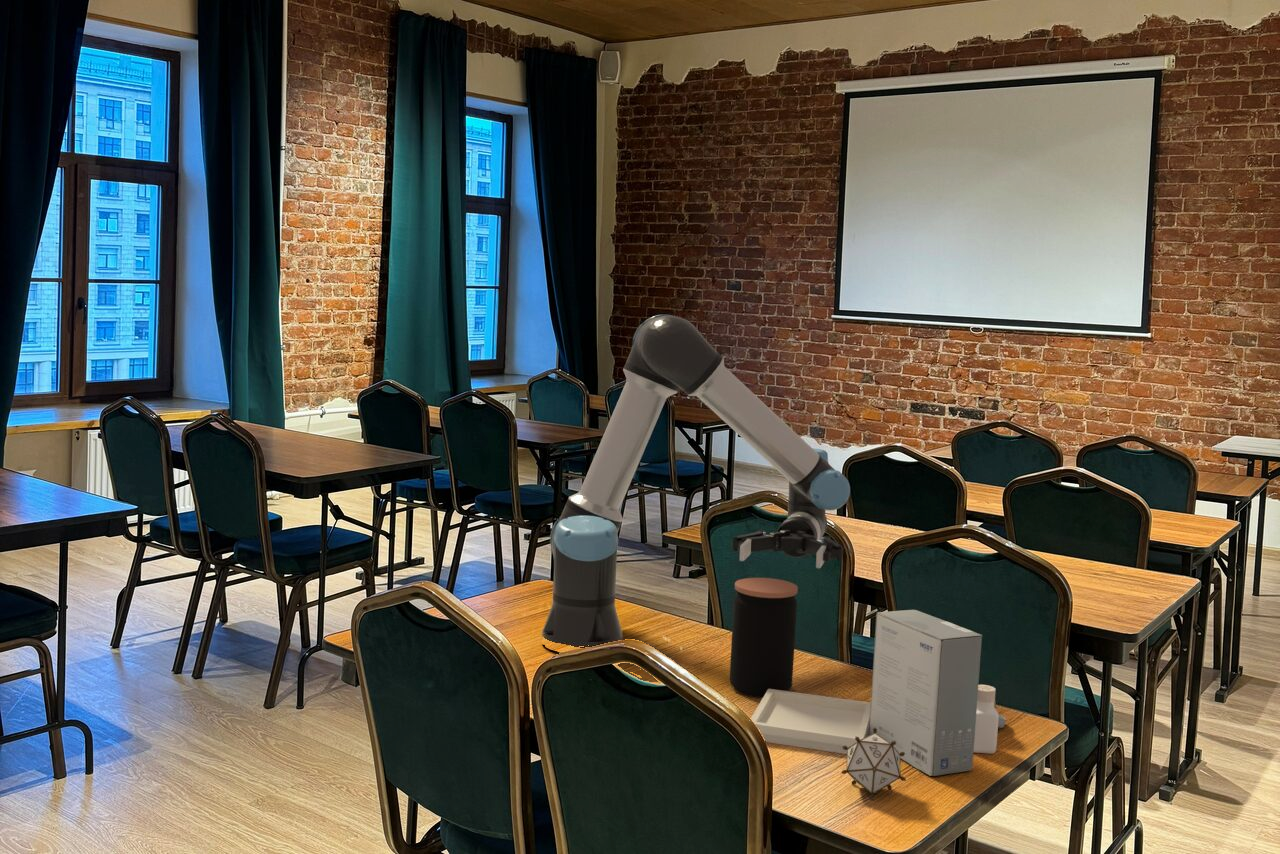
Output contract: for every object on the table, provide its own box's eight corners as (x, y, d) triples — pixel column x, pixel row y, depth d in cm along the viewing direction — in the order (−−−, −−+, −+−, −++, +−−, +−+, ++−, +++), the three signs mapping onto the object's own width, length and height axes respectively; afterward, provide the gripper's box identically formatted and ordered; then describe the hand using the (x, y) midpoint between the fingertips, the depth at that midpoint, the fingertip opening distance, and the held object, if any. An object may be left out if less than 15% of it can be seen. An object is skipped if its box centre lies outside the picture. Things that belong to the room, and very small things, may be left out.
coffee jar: (805, 692, 197) (811, 588, 195) (758, 703, 190) (764, 595, 188) (761, 674, 205) (767, 574, 203) (716, 684, 199) (721, 581, 197)
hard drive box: (974, 772, 165) (985, 635, 163) (931, 779, 162) (941, 639, 160) (906, 733, 180) (915, 607, 177) (865, 739, 176) (874, 610, 174)
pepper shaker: (969, 753, 172) (974, 691, 171) (963, 743, 176) (968, 682, 175) (996, 755, 172) (1001, 693, 171) (990, 745, 176) (995, 684, 175)
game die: (884, 820, 157) (930, 776, 152) (834, 804, 154) (879, 759, 149) (868, 765, 164) (911, 722, 159) (819, 750, 161) (862, 705, 156)
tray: (747, 739, 174) (748, 723, 174) (767, 703, 190) (768, 688, 190) (861, 756, 169) (863, 739, 169) (872, 718, 186) (873, 703, 185)
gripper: (862, 559, 222) (850, 584, 202) (734, 548, 229) (709, 571, 209) (864, 521, 221) (852, 542, 201) (735, 510, 228) (711, 530, 208)
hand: (779, 557), depth 205 cm, fingers open, 13 cm apart
